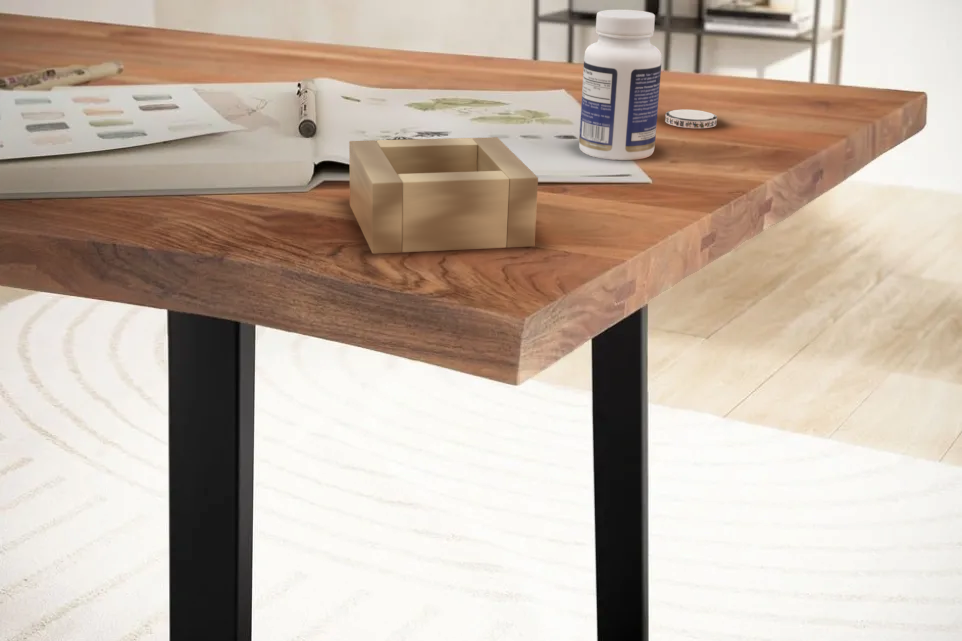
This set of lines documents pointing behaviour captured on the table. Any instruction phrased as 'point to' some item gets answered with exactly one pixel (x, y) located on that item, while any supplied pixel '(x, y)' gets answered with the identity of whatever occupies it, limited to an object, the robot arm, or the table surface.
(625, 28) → the pill bottle
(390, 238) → the holder
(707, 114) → the washi tape
